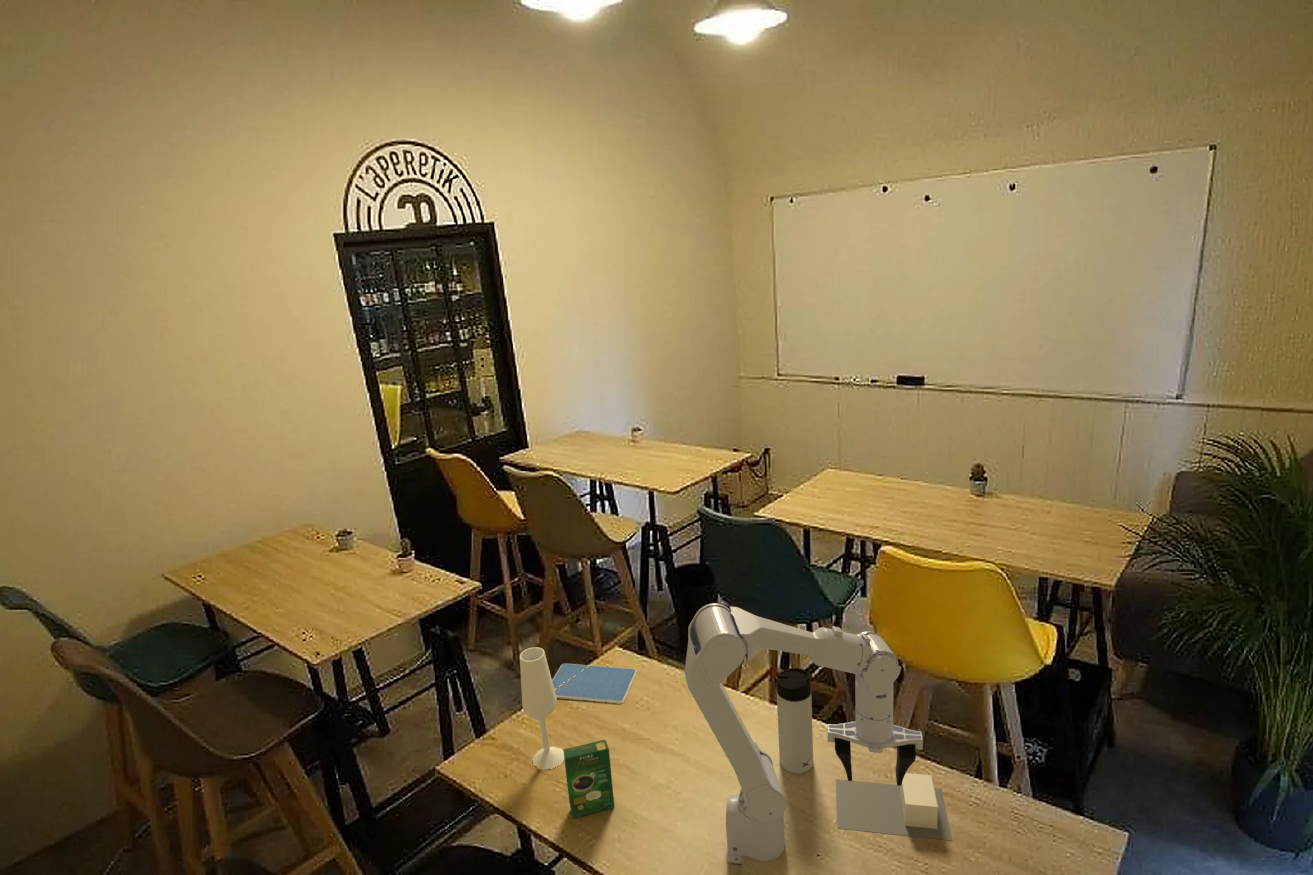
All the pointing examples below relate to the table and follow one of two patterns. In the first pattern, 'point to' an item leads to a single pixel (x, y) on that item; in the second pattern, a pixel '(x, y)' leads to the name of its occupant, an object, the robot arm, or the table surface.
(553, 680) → the tablet computer
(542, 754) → the champagne flute
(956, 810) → the table surface
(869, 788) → the board
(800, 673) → the travel mug
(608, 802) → the coffee box
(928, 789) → the cream rectangular block
